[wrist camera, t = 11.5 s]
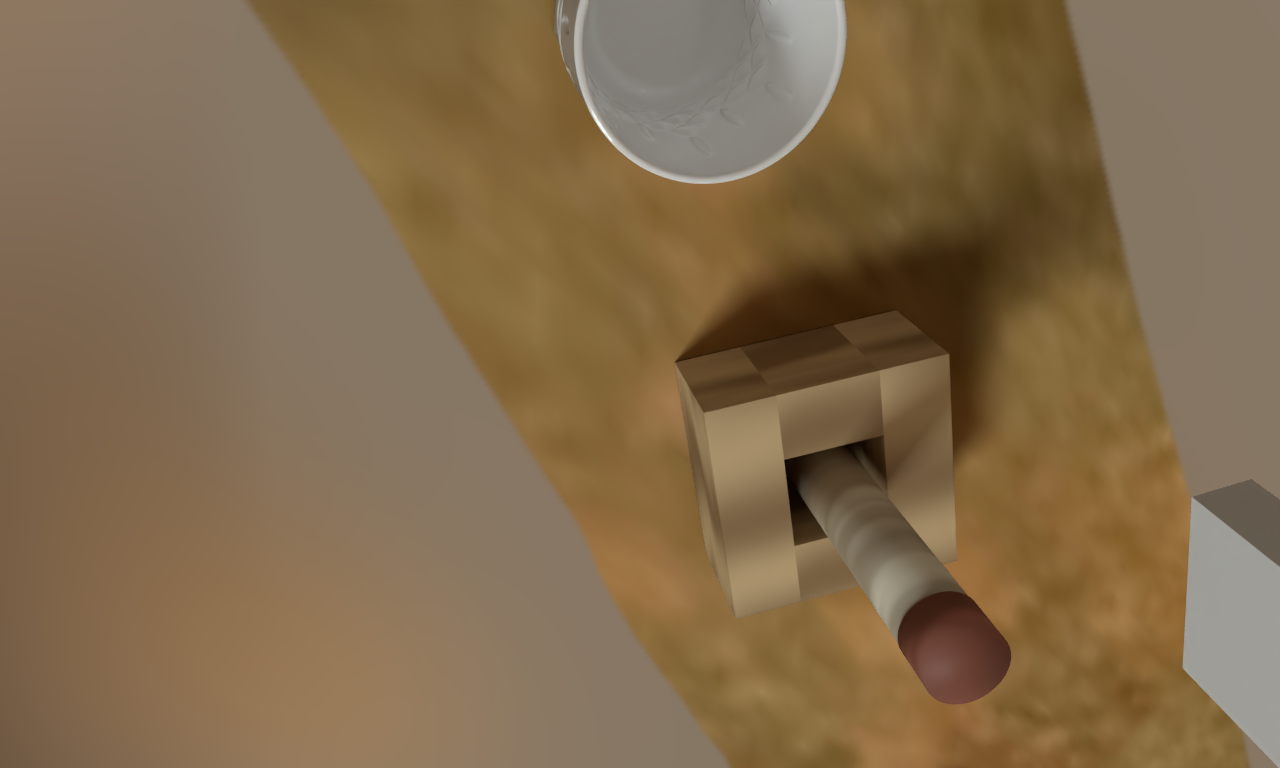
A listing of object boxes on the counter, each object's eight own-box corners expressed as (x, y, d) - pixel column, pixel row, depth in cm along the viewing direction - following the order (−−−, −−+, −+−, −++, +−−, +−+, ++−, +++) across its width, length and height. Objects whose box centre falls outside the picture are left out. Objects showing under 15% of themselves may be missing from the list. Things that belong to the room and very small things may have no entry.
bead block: (674, 362, 44) (703, 413, 39) (896, 310, 45) (949, 353, 40) (706, 553, 48) (735, 618, 44) (907, 502, 49) (956, 560, 45)
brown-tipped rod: (764, 416, 46) (921, 643, 31) (826, 401, 46) (1010, 619, 32) (772, 471, 47) (926, 714, 33) (832, 456, 47) (1011, 690, 33)
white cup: (777, -61, 38) (889, -55, 29) (707, 148, 40) (789, 213, 31) (571, -138, 35) (623, -157, 26) (511, 89, 38) (540, 142, 29)
